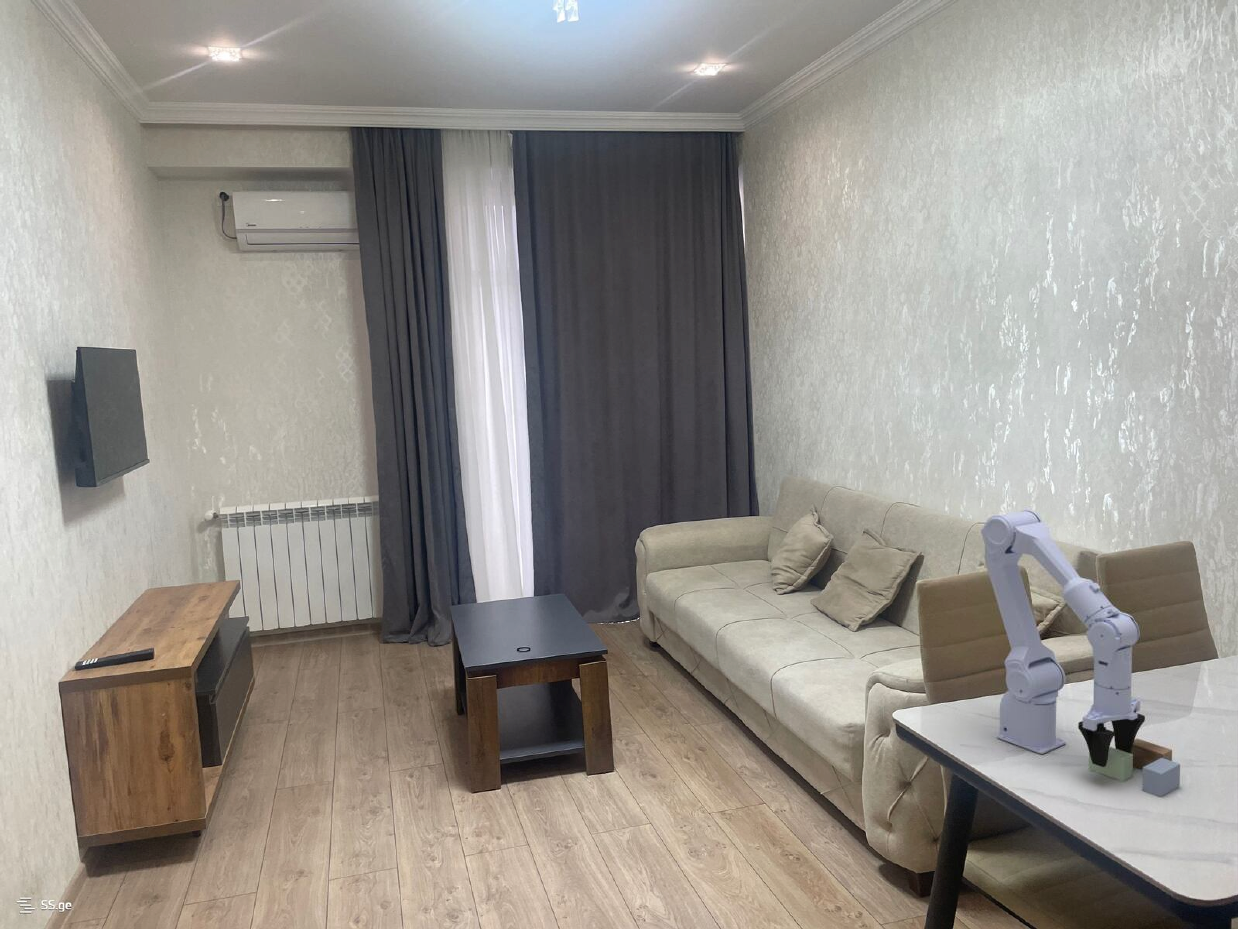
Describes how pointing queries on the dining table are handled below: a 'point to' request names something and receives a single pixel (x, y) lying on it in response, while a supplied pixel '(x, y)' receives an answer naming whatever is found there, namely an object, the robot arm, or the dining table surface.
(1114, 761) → the sage brick
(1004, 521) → the robot arm
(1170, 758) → the walnut brick
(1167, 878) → the dining table surface
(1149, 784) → the slate brick
